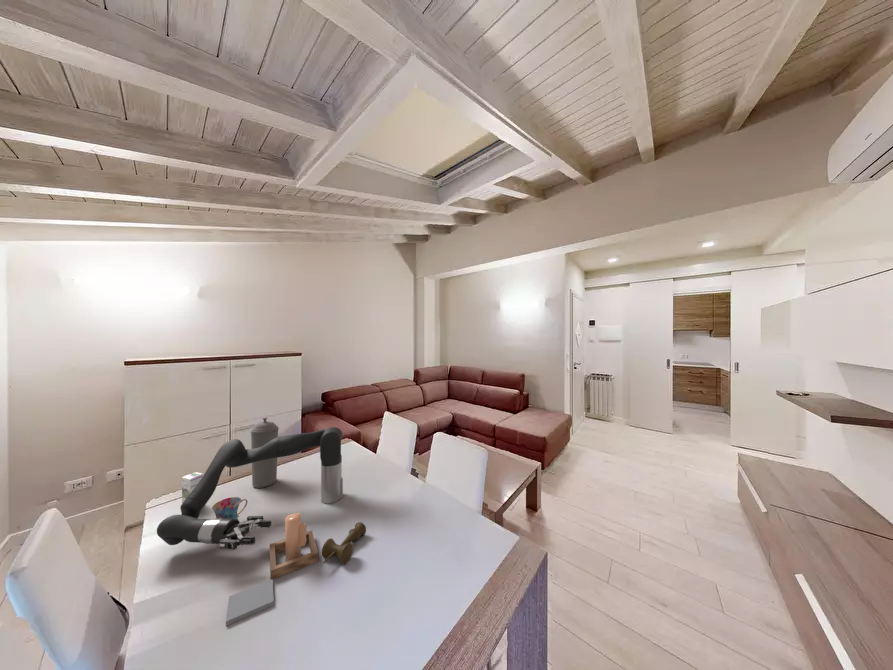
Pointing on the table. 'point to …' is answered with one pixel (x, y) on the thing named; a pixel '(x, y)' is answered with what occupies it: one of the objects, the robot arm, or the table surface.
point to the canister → (265, 469)
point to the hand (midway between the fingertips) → (262, 531)
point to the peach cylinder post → (294, 536)
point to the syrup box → (190, 483)
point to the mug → (228, 508)
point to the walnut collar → (294, 563)
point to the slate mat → (250, 601)
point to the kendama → (343, 545)
